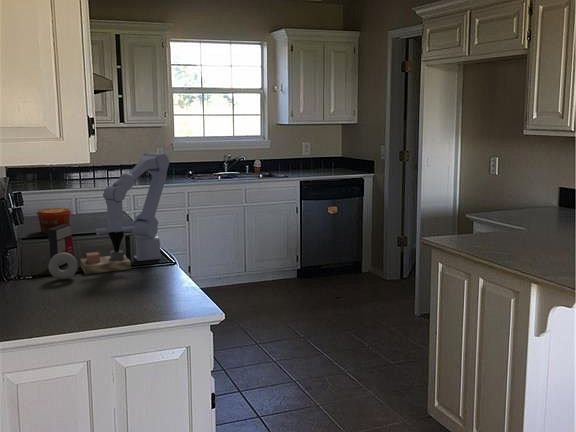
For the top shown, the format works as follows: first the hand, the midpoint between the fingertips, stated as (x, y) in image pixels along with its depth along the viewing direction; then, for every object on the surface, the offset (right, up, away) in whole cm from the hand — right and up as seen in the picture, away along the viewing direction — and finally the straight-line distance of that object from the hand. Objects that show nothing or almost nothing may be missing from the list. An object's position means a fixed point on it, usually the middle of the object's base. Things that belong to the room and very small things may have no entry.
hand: (116, 251), depth 237 cm
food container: (-49, +6, +64) cm, 81 cm away
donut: (-14, -9, -17) cm, 24 cm away
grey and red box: (-23, -6, +4) cm, 24 cm away
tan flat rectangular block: (-4, -6, -1) cm, 8 cm away
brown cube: (-8, -5, -3) cm, 10 cm away
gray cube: (0, -4, +1) cm, 4 cm away
